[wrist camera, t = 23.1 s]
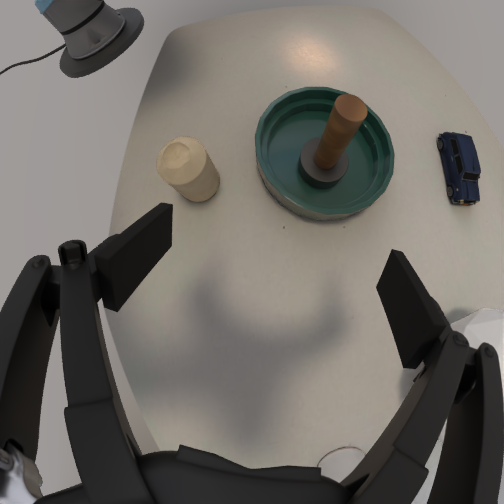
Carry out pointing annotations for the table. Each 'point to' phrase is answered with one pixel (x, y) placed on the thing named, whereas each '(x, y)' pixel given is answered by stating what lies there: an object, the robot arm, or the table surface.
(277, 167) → the bowl
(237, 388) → the table surface
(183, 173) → the candle
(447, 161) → the toy car
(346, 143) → the wooden peg on stand
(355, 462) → the mug
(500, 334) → the polyhedron
